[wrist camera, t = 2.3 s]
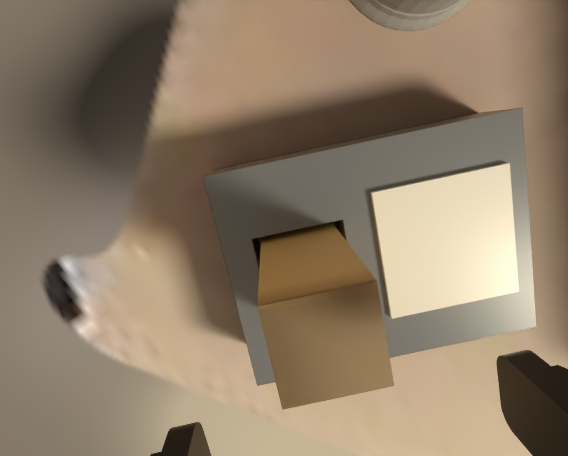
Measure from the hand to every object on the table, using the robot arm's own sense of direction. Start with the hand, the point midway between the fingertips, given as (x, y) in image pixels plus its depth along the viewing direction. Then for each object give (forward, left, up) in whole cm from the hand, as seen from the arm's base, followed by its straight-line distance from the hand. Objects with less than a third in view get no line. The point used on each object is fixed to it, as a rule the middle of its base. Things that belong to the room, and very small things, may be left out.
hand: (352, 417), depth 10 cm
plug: (0, 0, -14) cm, 14 cm away
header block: (0, +4, -15) cm, 15 cm away
